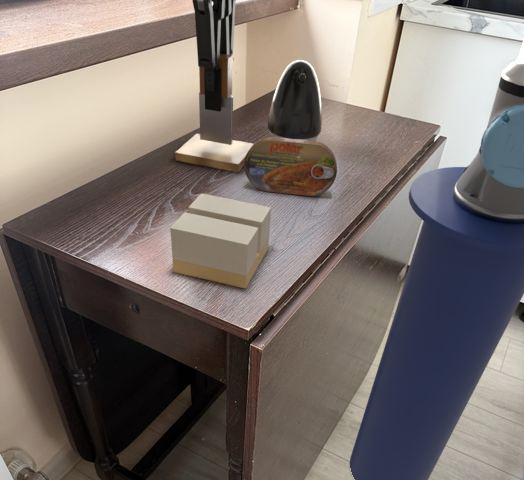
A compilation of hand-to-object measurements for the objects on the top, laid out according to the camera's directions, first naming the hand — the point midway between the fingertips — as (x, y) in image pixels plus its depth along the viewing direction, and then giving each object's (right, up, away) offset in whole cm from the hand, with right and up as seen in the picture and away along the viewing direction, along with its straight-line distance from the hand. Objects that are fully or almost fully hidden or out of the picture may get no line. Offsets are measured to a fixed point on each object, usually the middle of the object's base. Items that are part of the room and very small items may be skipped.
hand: (216, 106), depth 88 cm
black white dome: (+14, -3, +11) cm, 18 cm away
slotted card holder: (+3, -30, -19) cm, 36 cm away
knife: (0, -4, +4) cm, 6 cm away
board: (0, -6, +6) cm, 9 cm away
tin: (+12, -15, -2) cm, 20 cm away
